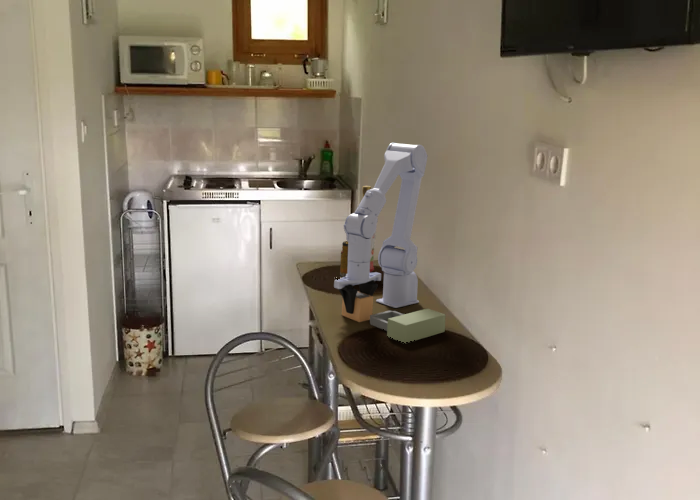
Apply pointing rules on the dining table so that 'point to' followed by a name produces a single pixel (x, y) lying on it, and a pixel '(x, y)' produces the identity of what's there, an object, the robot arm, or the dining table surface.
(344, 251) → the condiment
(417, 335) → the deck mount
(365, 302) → the orange box grey panel
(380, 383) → the dining table surface
